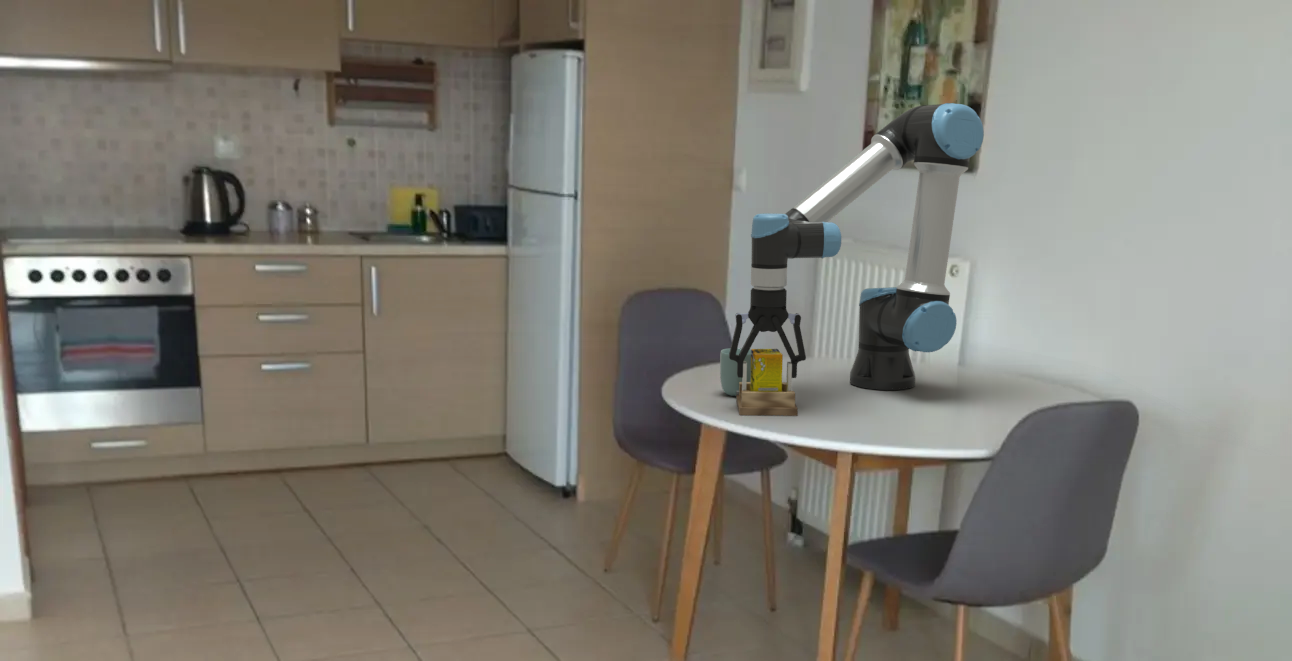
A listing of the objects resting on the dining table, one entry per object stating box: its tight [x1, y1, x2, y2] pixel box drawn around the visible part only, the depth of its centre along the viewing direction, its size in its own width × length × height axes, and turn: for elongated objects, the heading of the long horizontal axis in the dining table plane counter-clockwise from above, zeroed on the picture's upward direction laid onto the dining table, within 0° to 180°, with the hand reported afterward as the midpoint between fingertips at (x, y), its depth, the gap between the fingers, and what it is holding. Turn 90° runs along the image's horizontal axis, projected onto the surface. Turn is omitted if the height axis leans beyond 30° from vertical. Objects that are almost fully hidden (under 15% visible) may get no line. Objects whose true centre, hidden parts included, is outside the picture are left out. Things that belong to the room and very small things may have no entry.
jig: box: [735, 381, 799, 417], centre depth 232 cm, size 12×13×4 cm
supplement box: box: [750, 348, 784, 392], centre depth 231 cm, size 6×6×11 cm
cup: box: [719, 347, 751, 397], centre depth 245 cm, size 8×8×10 cm
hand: (766, 392), depth 232 cm, fingers open, 9 cm apart
